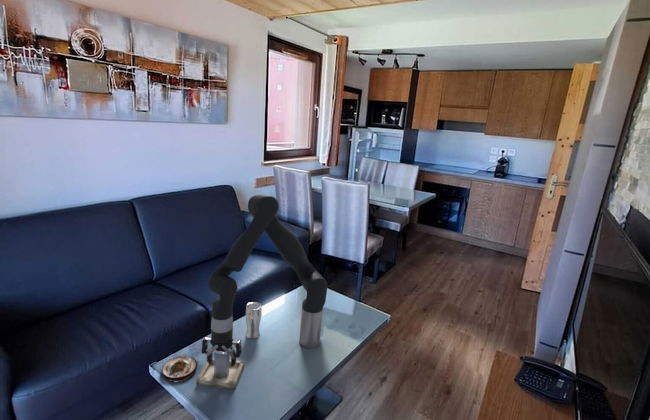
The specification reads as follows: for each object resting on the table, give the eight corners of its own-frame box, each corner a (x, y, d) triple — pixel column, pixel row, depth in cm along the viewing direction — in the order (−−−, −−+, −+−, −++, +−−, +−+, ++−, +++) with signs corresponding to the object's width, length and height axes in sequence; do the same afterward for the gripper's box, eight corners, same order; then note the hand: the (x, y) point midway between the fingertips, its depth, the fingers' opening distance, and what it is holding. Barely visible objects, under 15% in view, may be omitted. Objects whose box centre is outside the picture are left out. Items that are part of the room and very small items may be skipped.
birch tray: (244, 366, 132) (244, 361, 131) (234, 389, 120) (234, 383, 120) (209, 362, 133) (209, 357, 132) (196, 384, 121) (196, 379, 120)
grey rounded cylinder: (231, 369, 129) (231, 349, 127) (226, 379, 124) (226, 359, 121) (217, 367, 129) (217, 347, 127) (211, 377, 124) (211, 357, 121)
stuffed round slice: (191, 388, 120) (190, 378, 119) (150, 384, 120) (149, 374, 119) (206, 360, 134) (206, 351, 133) (170, 356, 134) (169, 347, 133)
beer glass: (256, 341, 148) (258, 311, 144) (242, 338, 149) (243, 308, 145) (262, 332, 154) (264, 303, 150) (248, 329, 155) (249, 300, 152)
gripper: (244, 322, 125) (243, 359, 129) (207, 318, 125) (207, 355, 129) (238, 334, 117) (237, 373, 121) (198, 329, 118) (198, 368, 122)
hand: (221, 363), depth 125 cm, fingers open, 8 cm apart
